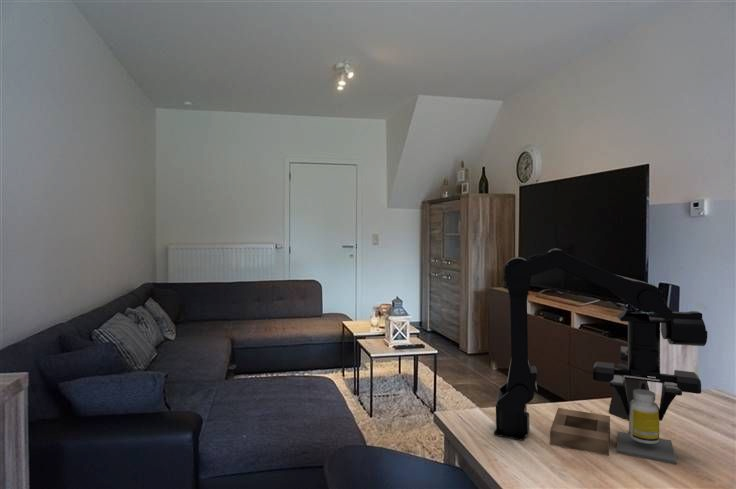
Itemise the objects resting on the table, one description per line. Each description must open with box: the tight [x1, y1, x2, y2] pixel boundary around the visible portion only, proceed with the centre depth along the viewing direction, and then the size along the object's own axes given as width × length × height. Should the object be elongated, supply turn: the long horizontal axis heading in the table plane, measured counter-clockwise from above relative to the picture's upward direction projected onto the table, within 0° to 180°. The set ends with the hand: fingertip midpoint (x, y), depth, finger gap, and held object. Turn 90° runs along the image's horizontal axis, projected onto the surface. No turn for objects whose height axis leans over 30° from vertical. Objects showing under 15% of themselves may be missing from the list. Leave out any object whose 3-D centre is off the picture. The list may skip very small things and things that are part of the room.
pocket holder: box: [549, 407, 611, 456], centre depth 100 cm, size 11×14×3 cm
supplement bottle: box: [628, 389, 660, 444], centre depth 94 cm, size 5×5×10 cm
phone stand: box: [608, 362, 651, 421], centre depth 111 cm, size 9×6×12 cm, turn 115°
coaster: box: [616, 430, 677, 465], centre depth 94 cm, size 10×10×1 cm
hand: (644, 417), depth 94 cm, fingers closed on supplement bottle, 5 cm apart
